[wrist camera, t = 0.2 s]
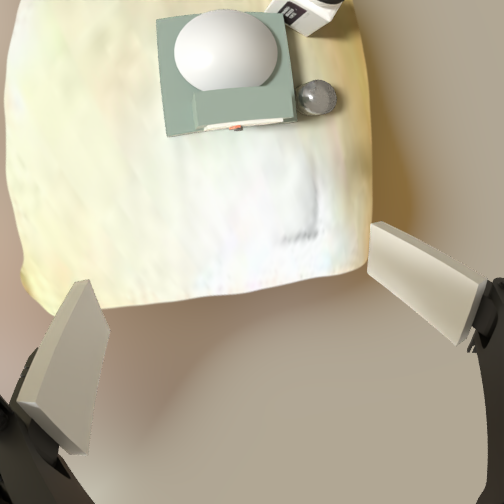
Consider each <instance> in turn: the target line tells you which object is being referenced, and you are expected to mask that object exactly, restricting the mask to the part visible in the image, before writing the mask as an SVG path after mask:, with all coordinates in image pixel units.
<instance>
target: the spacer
mask: <svg viewBox="0 0 504 504" xmlns="http://www.w3.org/2000/svg"><path fill="white" fill-rule="evenodd" d="M294 94H295V103H296V109H297V110H298V111H299V112H300V113H302V114H304V115H308V116H312V115H319V114H326V113H329V112H331V111H332V110H333V109H334V107H335V105H336V101H337V97H336V93H335V91H334V89H333V87H332V86H331V85H330V84H329V83H327V82H325V81H323V80H314V81H311V82H308V83H306V84H303V85H301V86H299V87H297V88H296V90H295V91H294Z"/></svg>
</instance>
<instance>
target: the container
mask: <svg viewBox="0 0 504 504" xmlns="http://www.w3.org/2000/svg"><path fill="white" fill-rule="evenodd" d="M343 1H344V0H272V1H271V3H270V4H269V6H268V7H267V8H266V10H265V11H264V12H266V13H281V14H283V18H284V24H285V25H287V26H289V27H290V28H292V29H294V30H296V31H297V32H299V33H301V34H302V35H304V36H306V37H308V36H309V35H311V34H312V33H314V32H315V31H317V30H318V29H320V28H321V27H323V26H325V25H326V24H328V23H329V22H331V21H332V19H333V17H334V16H335V14H336V12H337V11H338V9H339V7H340V6H341V4H342V2H343Z"/></svg>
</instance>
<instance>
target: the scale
mask: <svg viewBox="0 0 504 504" xmlns="http://www.w3.org/2000/svg"><path fill="white" fill-rule="evenodd" d="M156 27H157V45H158V59H159V72H160V83H161V93H162V102H163V111H164V119H165V127H166V134H167V137H173V136H178V135H184V134H190V133H196V132H202V131H210V130H218V129H225V128H229V130H232V129H234V131H242V130H243V126H253V125H266V124H277V123H291V122H297V112H296V103H295V94H294V86H293V78H292V70H291V63H290V56H289V49H288V42H287V36H286V30H285V24H284V18H283V14H281V13H266V12H241V11H237V10H230V9H221V10H214V11H209V12H206V13H203V14H193V15H184V16H176V17H169V18H163V19H157V20H156Z"/></svg>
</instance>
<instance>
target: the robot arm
mask: <svg viewBox="0 0 504 504" xmlns="http://www.w3.org/2000/svg"><path fill="white" fill-rule="evenodd" d="M367 273H368V274H369V275H370V276H371V277H373V278H374V279H376V280H377V281H378V282H379V283H381V284H382V285H383V286H384V287H386V288H387V289H388V290H389V291H391V292H392V293H393V294H394V295H396V296H397V297H398V298H399V299H401V300H402V301H403V302H404V303H406V304H407V305H408V306H409V307H411V308H412V309H413V310H414V311H415V312H417V313H418V314H419V315H420V316H421V317H423V318H424V319H425V320H426V321H427V322H429V323H430V324H431V325H432V326H433V327H435V328H436V329H437V330H438V331H439V332H441V333H442V334H443V335H444V336H445V337H446V338H447V339H449V340H450V341H451V342H452V343H453V344H454V345H455V346H457V345H458V344H460V343H461V342H463V341H464V340H465V339H467V336H468V334H469V331H470V329H471V327H472V326H473V327H474V328H475V329H476V330H475V333H474V335H473V337H472V340H471V342H470V344H469V346H468V348H467V352H470V350H471V348H472V346H474V345H475V347H474V349H473V352H472V353H477V355H478V360H479V365H480V370H481V376H482V383H483V389H484V397H485V406H486V417H487V434H488V468H487V482H486V486H485V489H484V491H483V492H482V494H481V495H480V497H479V498H478V500H477V503H476V504H504V278H496V279H494V280H493V283H492V282H490V281H489V280H488V278H487V277H485V276H483V275H481V274H480V273H478V272H477V271H475V270H473V269H471V268H470V267H468V266H466V265H464V264H463V263H461V262H460V261H458V260H456V259H454V258H452V257H451V256H449V255H447V254H445V253H443V252H442V251H440V250H438V249H436V248H434V247H432V246H430V245H429V244H426V243H425V242H423V241H421V240H419V239H417V238H415V237H413V236H411V235H409V234H407V233H405V232H403V231H401V230H399V229H397V228H395V227H393V226H391V225H389V224H387V223H384V222H382V221H381V222H376V223H371V226H370V243H369V257H368V268H367ZM110 331H111V330H110V328H109V326H108V324H107V322H106V320H105V317H104V315H103V313H102V310H101V308H100V305H99V303H98V300H97V298H96V296H95V293H94V290H93V288H92V285H91V283H90V280H89V279H88V280H83V281H78V282H75V283H74V284H73V286H72V288H71V289H70V291H69V293H68V294H67V296H66V298H65V299H64V301H63V303H62V305H61V306H60V308H59V310H58V312H57V313H56V315H55V317H54V319H53V321H52V323H51V325H50V326H49V328H48V330H47V332H46V334H45V336H44V338H43V340H42V342H41V344H40V346H39V348H36V349H35V351H34V352H33V353H32V354H31V355H30V356H29V358H28V360H27V362H26V364H25V367H24V368H25V369H23V371H22V373H21V378H19V380H18V383H17V385H16V387H15V390H14V393H13V395H12V398H11V400H10V403H9V405H8V403H7V402H6V401H5V400H4V399H3V398H2V396H1V395H0V504H95V503H94V502H93V501H92V499H91V498H90V497H89V495H88V494H87V493H86V492H85V490H84V489H83V487H82V486H81V485H80V483H79V482H78V480H77V479H76V478H75V476H74V475H73V473H72V472H71V470H70V469H69V467H68V466H67V464H66V462H65V461H64V459H63V458H62V457H61V456H60V455H59V454H58V449H59V446H60V447H62V448H63V449H64V450H65V451H66V452H67V453H69V454H71V455H84V456H88V455H89V444H90V435H91V427H92V419H93V413H94V406H95V400H96V395H97V389H98V384H99V379H100V374H101V369H102V364H103V360H104V356H105V351H106V347H107V343H108V339H109V335H110Z"/></svg>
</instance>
